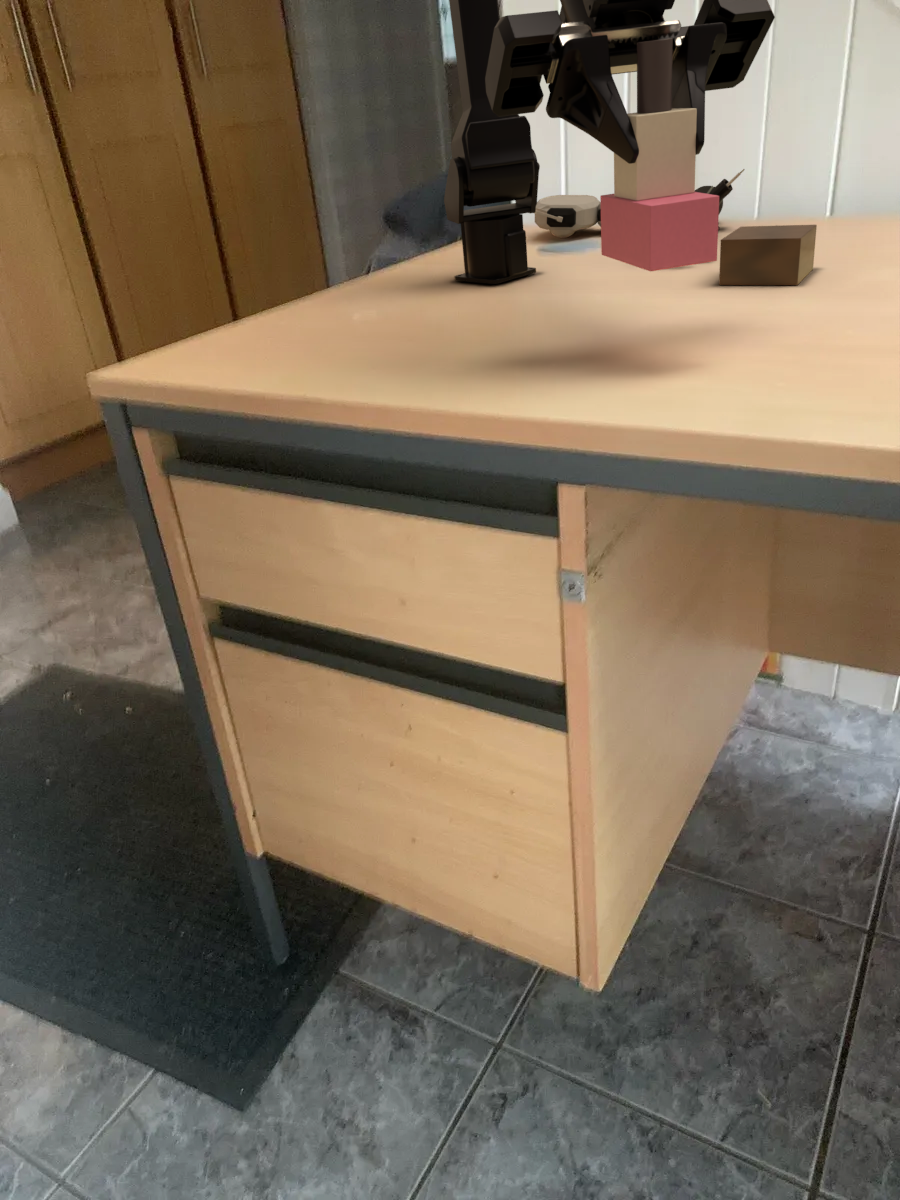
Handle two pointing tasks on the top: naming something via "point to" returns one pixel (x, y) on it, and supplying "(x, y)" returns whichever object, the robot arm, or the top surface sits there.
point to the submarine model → (719, 190)
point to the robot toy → (567, 213)
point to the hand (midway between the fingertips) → (666, 154)
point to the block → (767, 255)
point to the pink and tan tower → (659, 179)
